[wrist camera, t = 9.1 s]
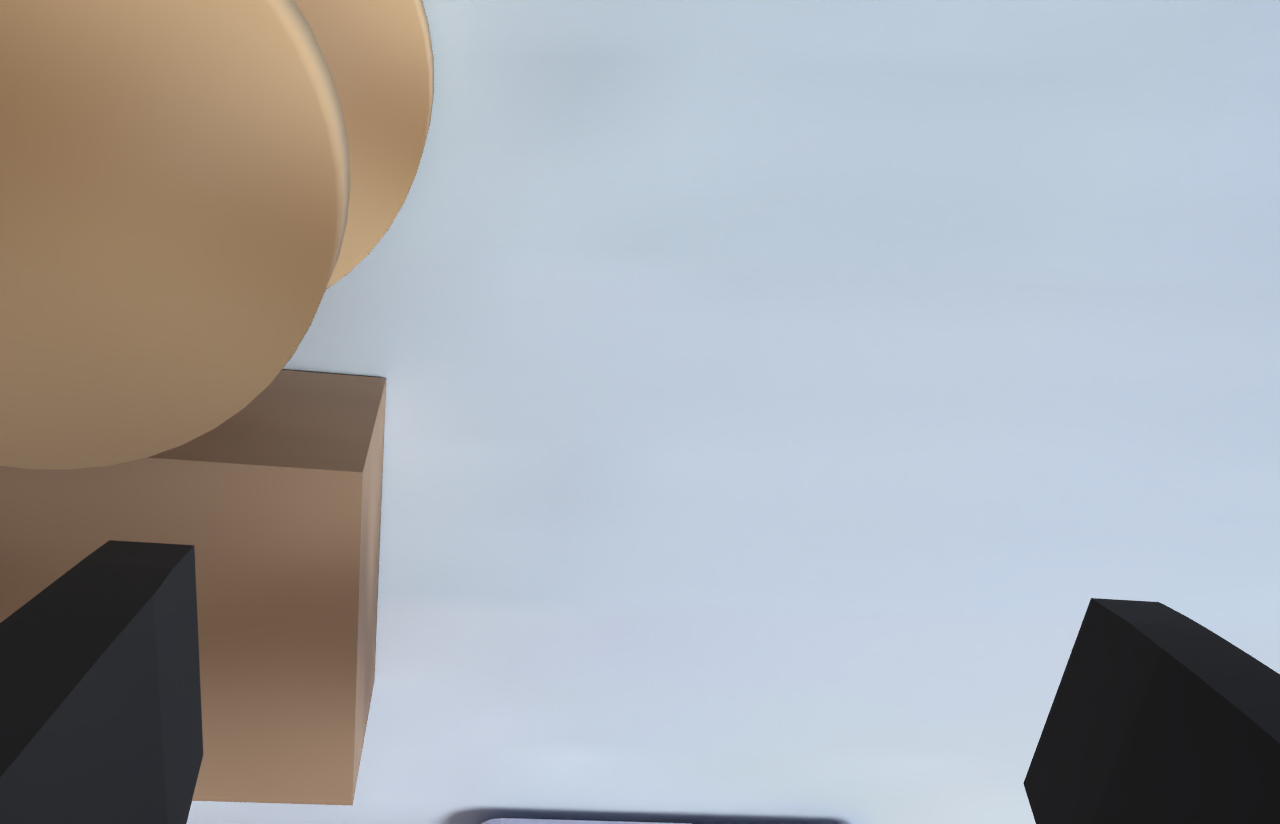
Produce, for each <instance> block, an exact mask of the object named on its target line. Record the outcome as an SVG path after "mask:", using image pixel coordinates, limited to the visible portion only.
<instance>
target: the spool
mask: <svg viewBox="0 0 1280 824" xmlns="http://www.w3.org/2000/svg"><path fill="white" fill-rule="evenodd" d="M433 95H434V67H433V52H432V45H431V38H430V31H429V24H428V20H427V17H426V13H425V9H424V6H423V2H422V0H0V466H7V467H15V468H23V469H49V470H73V469H83V468H93V467H103V466H111V465H116V464H120V463H125V462H129V461H134V460H138V459H143V458H147V457H150V456H153V455H156V454H158V453H161V452H164V451H167V450H170V449H173V448H176V447H178V446H181V445H183V444H185V443H187V442H189V441H191V440H193V439H195V438H197V437H199V436H201V435H203V434H205V433H207V432H209V431H211V430H213V429H215V428H216V427H218V426H219V425H220V424H222V423H223V422H225V421H226V420H228V419H229V418H231V417H232V416H234V415H235V414H236V413H238V412H239V411H241V410H242V409H244V408H245V407H246V406H247V405H248V404H249V403H250V402H251V401H252V400H253V399H254V398H256V397H257V396H258V395H259V394H260V393H261V392H262V391H263V390H264V389H265V388H266V387H267V386H268V385H270V383H271V382H272V381H273V380H274V378H275V377H276V376H277V375H278V374H279V372H280V371H281V370H282V369H283V367H284V366H285V365H286V364H287V362H288V361H289V360H290V359H291V357H292V356H293V354H294V353H295V351H296V349H297V347H298V346H299V344H300V342H301V341H302V339H303V337H304V335H305V334H306V332H307V330H308V329H309V327H310V325H311V323H312V321H313V318H314V316H315V314H316V311H317V309H318V307H319V304H320V302H321V300H322V297H323V295H324V293H325V290H326V289H327V288H329V287H330V286H331V285H333V284H334V283H336V282H337V281H339V280H340V279H341V278H343V277H344V276H346V275H347V274H348V273H349V272H350V271H351V270H352V269H353V268H354V267H355V266H356V265H357V264H359V263H360V262H361V261H362V260H363V259H364V258H365V257H366V256H367V255H368V254H369V253H370V252H371V250H372V249H373V248H374V247H375V245H376V244H377V243H378V242H379V240H380V239H381V238H382V237H383V236H384V234H385V233H386V232H387V231H388V229H389V227H390V226H391V224H392V222H393V221H394V219H395V217H396V216H397V214H398V212H399V210H400V209H401V207H402V205H403V204H404V202H405V199H406V197H407V194H408V192H409V190H410V187H411V185H412V182H413V180H414V178H415V175H416V173H417V169H418V166H419V163H420V160H421V156H422V153H423V149H424V145H425V141H426V138H427V134H428V130H429V126H430V120H431V111H432V103H433Z"/></svg>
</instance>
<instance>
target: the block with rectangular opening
mask: <svg viewBox="0 0 1280 824" xmlns="http://www.w3.org/2000/svg"><path fill="white" fill-rule="evenodd" d="M385 397H386V378H379V377H367V376H354V375H342V374H329V373H317V372H304V371H292V370H281V371H280V372H279V374H278V375H277V376H276V377H275V378H274V380H273V381H272V382H271V383H270V385H268V386H267V387H266V388H265V389H264V390H263V391H262V392H261V393H260V394H259V395H258V396H257V397H256V398H254V399H253V400H252V401H251V402H250V403H249V404H248V405H247V406H246V407H245V408H244V409H242V410H241V411H239V412H238V413H236V414H235V415H234V416H232V417H231V418H229V419H228V420H226V421H225V422H223V423H222V424H220V425H219V426H218V427H216V428H215V429H213V430H211V431H209V432H207V433H205V434H203V435H201V436H199V437H197V438H195V439H193V440H191V441H189V442H187V443H185V444H183V445H181V446H178V447H176V448H173V449H170V450H167V451H164V452H161V453H158V454H156V455H153V456H150V457H147V458H143V459H138V460H134V461H129V462H125V463H120V464H116V465H111V466H103V467H93V468H83V469H73V470H49V469H23V468H15V467H7V466H0V623H1V622H2V621H3V620H5V619H6V618H7V617H9V616H10V615H11V614H13V613H14V612H15V611H16V610H18V609H19V608H20V607H22V606H23V605H24V604H26V603H27V602H28V601H29V600H31V599H32V598H33V597H35V596H36V595H37V594H39V593H40V592H41V591H43V590H44V589H45V588H46V587H48V586H49V585H50V584H52V583H53V582H54V581H56V580H57V579H58V578H60V577H61V576H62V575H63V574H65V573H66V572H67V571H69V570H70V569H71V568H73V567H74V566H75V565H77V564H78V563H79V562H80V561H82V560H83V559H84V558H86V557H87V556H88V555H90V554H91V553H92V552H94V551H95V550H97V549H98V548H99V547H101V546H102V545H104V544H105V543H106V542H108V541H109V540H114V541H131V542H148V543H165V544H182V545H194V548H195V571H196V594H197V618H198V641H199V664H200V687H201V710H202V734H203V758H202V762H201V766H200V770H199V774H198V778H197V782H196V786H195V790H194V794H193V798H192V801H225V802H258V803H292V804H326V805H353V799H354V793H355V788H356V782H357V776H358V771H359V765H360V759H361V753H362V748H363V742H364V736H365V730H366V725H367V719H368V713H369V708H370V702H371V696H372V690H373V685H374V675H375V650H376V624H377V599H378V574H379V549H380V523H381V498H382V473H383V447H384V422H385Z"/></svg>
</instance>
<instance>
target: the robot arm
mask: <svg viewBox="0 0 1280 824" xmlns="http://www.w3.org/2000/svg"><path fill="white" fill-rule="evenodd" d="M202 758H203V734H202V710H201V687H200V664H199V641H198V618H197V594H196V571H195V548H194V545H182V544H165V543H148V542H131V541H114V540H109V541H108V542H106V543H105V544H104V545H102V546H101V547H99V548H98V549H97V550H95V551H94V552H92V553H91V554H90V555H88V556H87V557H86V558H84V559H83V560H82V561H80V562H79V563H78V564H77V565H75V566H74V567H73V568H71V569H70V570H69V571H67V572H66V573H65V574H63V575H62V576H61V577H60V578H58V579H57V580H56V581H54V582H53V583H52V584H50V585H49V586H48V587H46V588H45V589H44V590H43V591H41V592H40V593H39V594H37V595H36V596H35V597H33V598H32V599H31V600H29V601H28V602H27V603H26V604H24V605H23V606H22V607H20V608H19V609H18V610H16V611H15V612H14V613H13V614H11V615H10V616H9V617H7V618H6V619H5V620H3V621H2V622H1V623H0V824H186V822H187V818H188V814H189V810H190V806H191V802H192V798H193V794H194V790H195V786H196V782H197V778H198V774H199V770H200V766H201V762H202ZM1024 786H1025V790H1026V793H1027V796H1028V799H1029V803H1030V806H1031V809H1032V812H1033V815H1034V819H1035V822H1036V824H1280V674H1278V673H1277V672H1275V671H1273V670H1272V669H1270V668H1269V667H1267V666H1266V665H1264V664H1263V663H1261V662H1260V661H1258V660H1256V659H1255V658H1253V657H1252V656H1250V655H1249V654H1247V653H1245V652H1244V651H1242V650H1241V649H1239V648H1237V647H1236V646H1234V645H1233V644H1231V643H1229V642H1228V641H1226V640H1225V639H1223V638H1222V637H1220V636H1218V635H1217V634H1215V633H1213V632H1212V631H1210V630H1208V629H1207V628H1205V627H1203V626H1202V625H1200V624H1198V623H1196V622H1195V621H1193V620H1191V619H1189V618H1188V617H1186V616H1184V615H1182V614H1180V613H1178V612H1177V611H1175V610H1173V609H1171V608H1169V607H1167V606H1165V605H1163V604H1161V603H1159V602H1146V601H1129V600H1112V599H1095V598H1091V600H1090V603H1089V606H1088V608H1087V611H1086V614H1085V617H1084V619H1083V622H1082V625H1081V628H1080V630H1079V633H1078V636H1077V639H1076V641H1075V644H1074V647H1073V649H1072V652H1071V655H1070V658H1069V660H1068V663H1067V666H1066V669H1065V671H1064V674H1063V677H1062V680H1061V682H1060V685H1059V688H1058V690H1057V693H1056V696H1055V699H1054V701H1053V704H1052V707H1051V710H1050V712H1049V715H1048V718H1047V721H1046V723H1045V726H1044V729H1043V731H1042V734H1041V737H1040V740H1039V742H1038V745H1037V748H1036V751H1035V753H1034V756H1033V759H1032V762H1031V764H1030V767H1029V770H1028V773H1027V775H1026V778H1025V781H1024ZM481 824H690V823H655V822H621V821H586V820H551V819H516V818H497V819H490V820H488V821H486V822H483V823H481Z"/></svg>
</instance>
